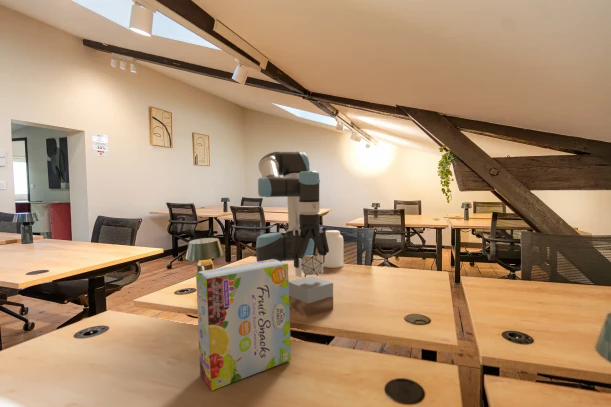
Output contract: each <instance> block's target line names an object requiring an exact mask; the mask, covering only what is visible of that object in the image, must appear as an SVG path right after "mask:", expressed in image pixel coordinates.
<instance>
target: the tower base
mask: <svg viewBox="0 0 611 407" xmlns="http://www.w3.org/2000/svg"><path fill="white" fill-rule="evenodd" d="M289 309H292V310H293V311H296V312H298V313H299V314H302V315H303V316H306V317H310V316H314V315H318V314H321V313H325V312H327V311H331V310H333V309H334V295H333V296H332V297H329V298H325V299H322V300H318V301H315V302H311V303H305V302H303V301H301V300H298V299H296V298H294V297H292V296H289Z"/></svg>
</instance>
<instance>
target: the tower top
mask: <svg viewBox="0 0 611 407" xmlns="http://www.w3.org/2000/svg"><path fill="white" fill-rule="evenodd" d="M289 296H292V297H294V298H296V299H298V300H301V301H303V302H305V303H311V302H315V301H318V300H322V299H325V298H329V297H332V296H333V297H334V282H331V281H330V280H329V281H328V280H327V279H326V280H325V279H322V278H319V277H316V276H314V275H312V276H308V277H307V276H306V277H303V278H302V277H301V278H299V279H294V280H289Z"/></svg>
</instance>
